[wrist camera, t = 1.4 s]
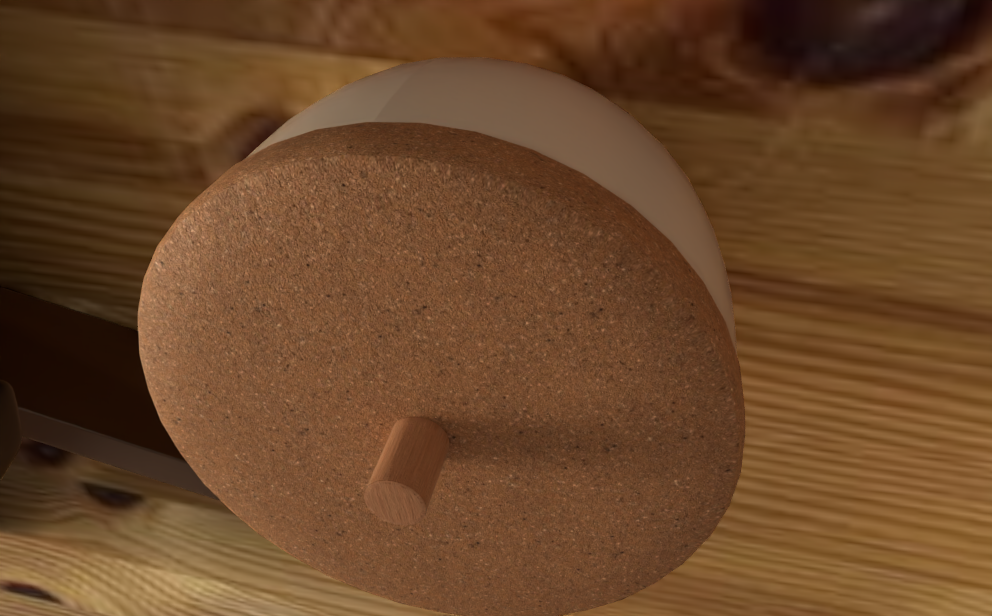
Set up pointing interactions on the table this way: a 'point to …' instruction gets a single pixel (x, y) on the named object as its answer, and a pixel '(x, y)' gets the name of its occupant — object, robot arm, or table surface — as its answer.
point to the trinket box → (455, 343)
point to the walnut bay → (86, 389)
